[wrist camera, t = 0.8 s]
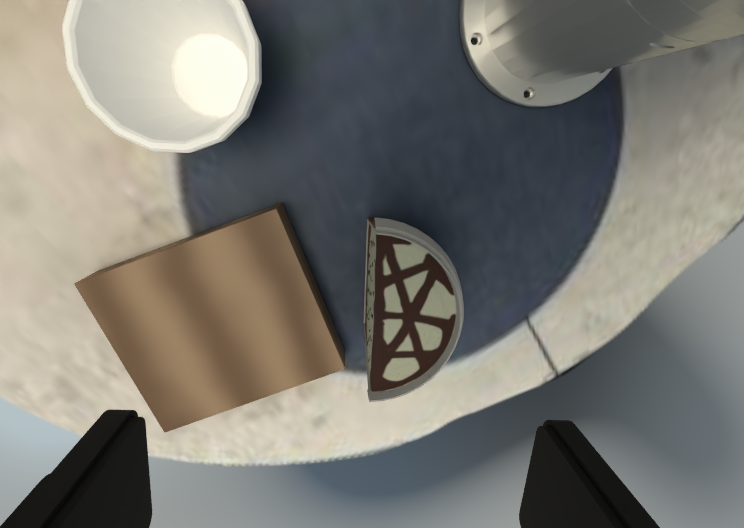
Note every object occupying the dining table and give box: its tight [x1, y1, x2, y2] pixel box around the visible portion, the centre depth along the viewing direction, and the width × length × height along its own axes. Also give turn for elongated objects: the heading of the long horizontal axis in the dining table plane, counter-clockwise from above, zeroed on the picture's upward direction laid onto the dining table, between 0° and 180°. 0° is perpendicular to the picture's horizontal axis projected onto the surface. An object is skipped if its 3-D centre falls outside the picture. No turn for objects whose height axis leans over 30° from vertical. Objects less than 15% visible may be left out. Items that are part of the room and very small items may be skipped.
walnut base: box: [75, 203, 345, 432], centre depth 35 cm, size 16×14×3 cm
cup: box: [62, 0, 262, 153], centre depth 27 cm, size 10×10×9 cm
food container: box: [363, 218, 464, 402], centre depth 31 cm, size 12×6×10 cm, turn 178°
